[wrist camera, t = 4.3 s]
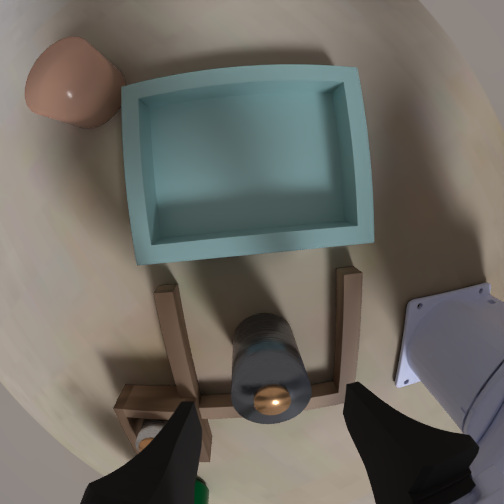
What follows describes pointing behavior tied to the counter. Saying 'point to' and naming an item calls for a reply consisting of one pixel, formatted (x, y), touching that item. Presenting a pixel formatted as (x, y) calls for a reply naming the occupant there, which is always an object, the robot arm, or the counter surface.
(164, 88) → the teal tray
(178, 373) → the cradle
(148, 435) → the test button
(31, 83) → the peach glossy rounded part
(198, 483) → the soda can
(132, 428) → the square wooden box
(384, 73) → the counter surface
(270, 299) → the counter surface
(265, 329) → the cell
